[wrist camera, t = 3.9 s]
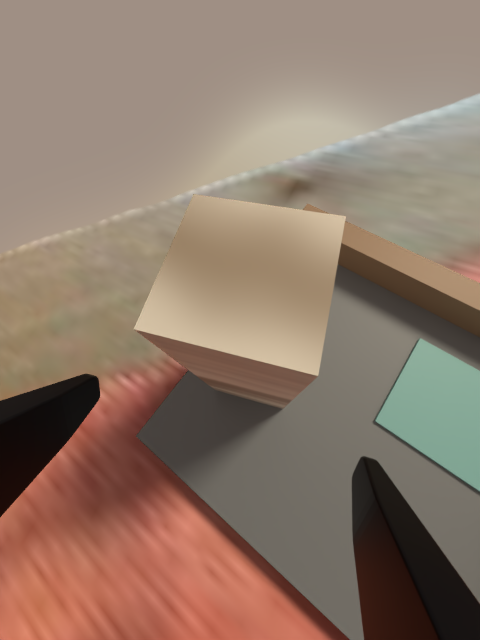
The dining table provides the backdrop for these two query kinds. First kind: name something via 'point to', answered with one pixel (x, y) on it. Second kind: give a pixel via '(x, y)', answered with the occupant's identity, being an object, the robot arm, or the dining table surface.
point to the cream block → (246, 296)
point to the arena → (348, 427)
